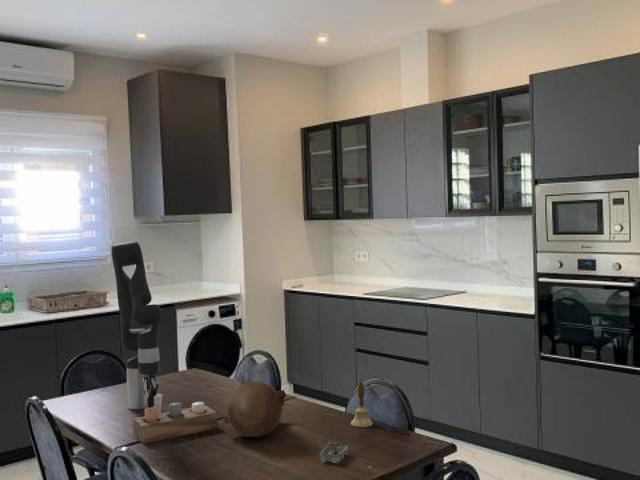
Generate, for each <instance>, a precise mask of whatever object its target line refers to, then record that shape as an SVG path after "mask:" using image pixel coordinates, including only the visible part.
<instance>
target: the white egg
mask: <svg viewBox="0 0 640 480" xmlns="http://www.w3.org/2000/svg"><path fill="white" fill-rule="evenodd" d="M204 405H205V402H203V401H196V402H193V403H191V407H192V413H193V414H196V413H202V412H205V410H204Z"/></svg>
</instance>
